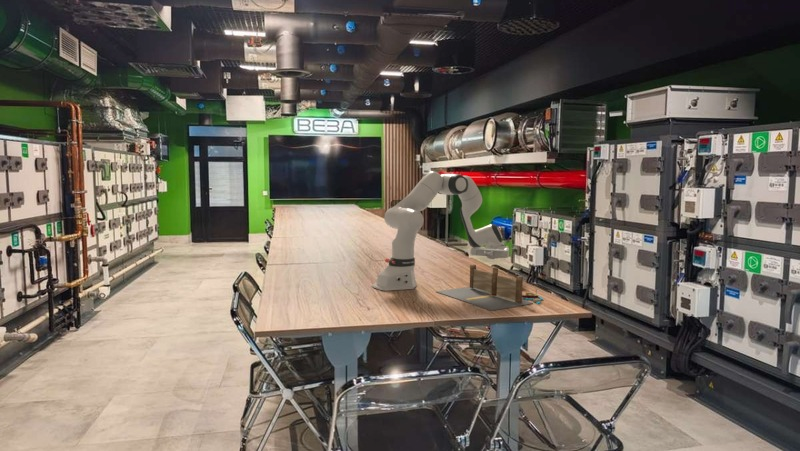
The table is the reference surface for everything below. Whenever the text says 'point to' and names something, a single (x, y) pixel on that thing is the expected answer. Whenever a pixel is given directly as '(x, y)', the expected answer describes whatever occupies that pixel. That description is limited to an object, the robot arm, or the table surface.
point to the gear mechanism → (532, 297)
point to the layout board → (482, 298)
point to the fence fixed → (507, 286)
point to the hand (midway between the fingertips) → (486, 254)
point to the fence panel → (480, 279)
